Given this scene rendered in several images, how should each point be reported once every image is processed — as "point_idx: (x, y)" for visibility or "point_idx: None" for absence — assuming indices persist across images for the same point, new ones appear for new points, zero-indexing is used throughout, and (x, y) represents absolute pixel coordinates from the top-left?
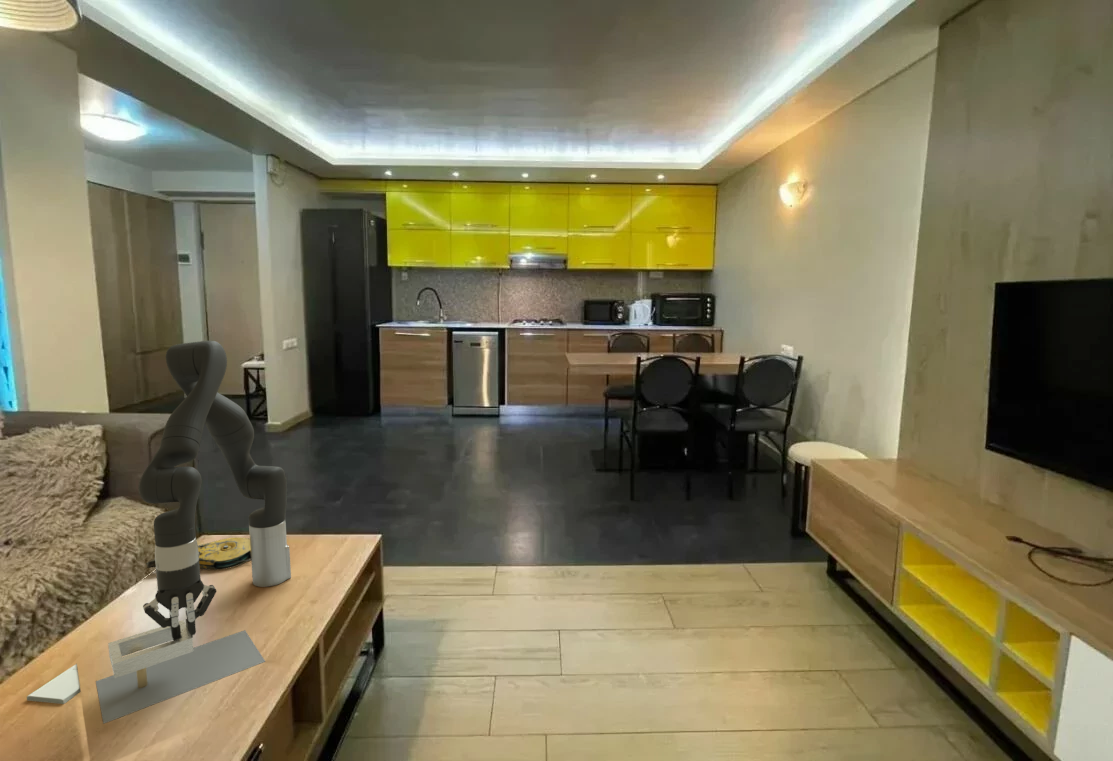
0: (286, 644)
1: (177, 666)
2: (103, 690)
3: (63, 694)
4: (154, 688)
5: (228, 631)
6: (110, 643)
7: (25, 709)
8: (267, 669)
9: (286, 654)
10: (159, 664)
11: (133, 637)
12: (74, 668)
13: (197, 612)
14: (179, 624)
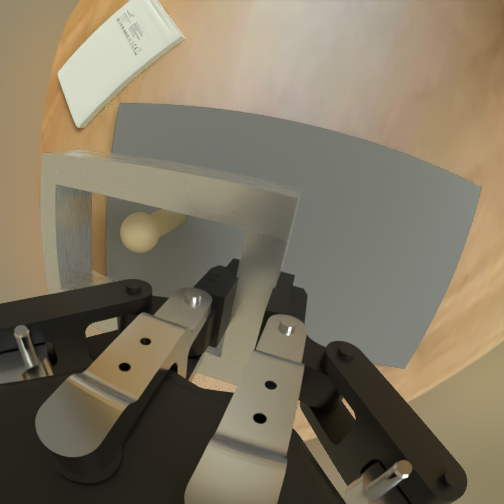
0: (478, 320)
1: None
2: None
3: (80, 109)
4: (192, 253)
5: (457, 119)
6: (44, 162)
7: (55, 102)
8: (395, 370)
9: (449, 354)
10: (239, 143)
11: (89, 177)
12: (119, 17)
13: (304, 396)
14: (218, 333)
